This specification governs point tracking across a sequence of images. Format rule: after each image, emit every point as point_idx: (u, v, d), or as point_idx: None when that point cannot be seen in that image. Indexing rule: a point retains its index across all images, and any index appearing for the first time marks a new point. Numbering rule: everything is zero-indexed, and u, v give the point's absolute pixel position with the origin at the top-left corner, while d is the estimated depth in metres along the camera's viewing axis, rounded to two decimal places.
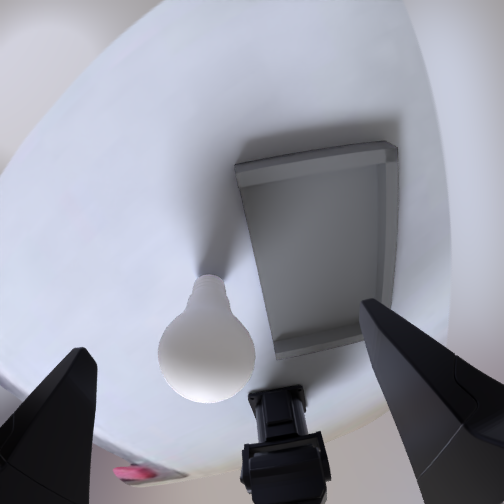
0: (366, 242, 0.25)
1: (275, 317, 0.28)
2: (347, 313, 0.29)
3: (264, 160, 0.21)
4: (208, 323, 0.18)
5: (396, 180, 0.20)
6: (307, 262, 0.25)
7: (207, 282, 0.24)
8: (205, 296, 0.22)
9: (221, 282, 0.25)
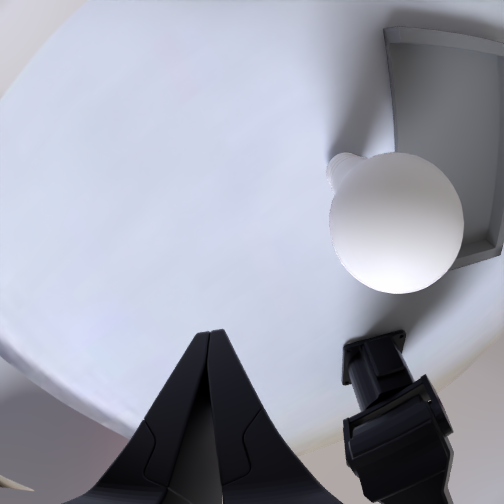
0: (490, 141, 0.18)
1: None
2: (468, 227, 0.22)
3: None
4: (419, 158, 0.11)
5: None
6: (444, 153, 0.19)
7: (353, 156, 0.17)
8: None
9: None
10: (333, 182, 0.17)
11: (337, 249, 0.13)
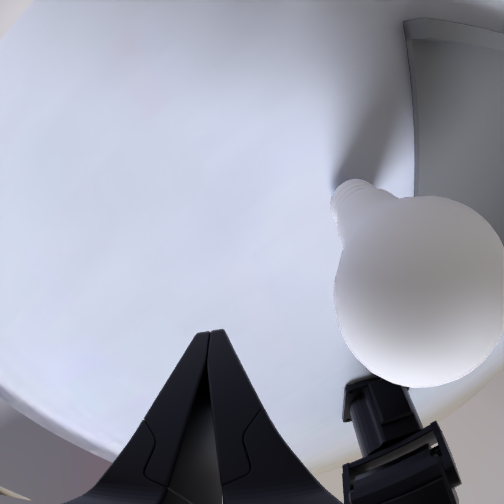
0: None
1: None
2: None
3: None
4: (464, 207, 0.08)
5: None
6: (471, 176, 0.15)
7: (365, 186, 0.14)
8: (388, 196, 0.12)
9: None
10: (339, 223, 0.13)
11: (343, 334, 0.09)
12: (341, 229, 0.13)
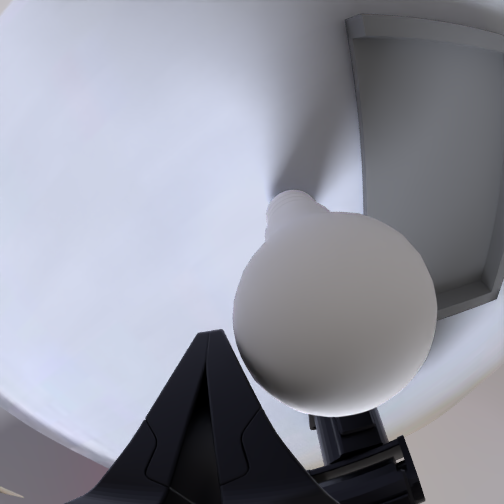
0: (492, 164, 0.15)
1: None
2: (458, 269, 0.19)
3: None
4: (371, 225, 0.08)
5: None
6: (430, 182, 0.15)
7: (298, 197, 0.14)
8: (312, 209, 0.12)
9: (316, 202, 0.15)
10: (265, 237, 0.13)
11: None
12: None
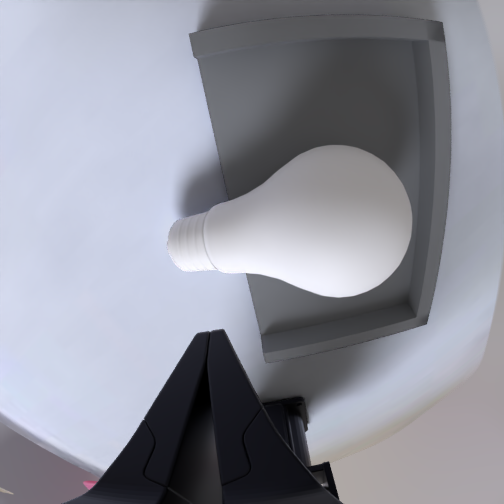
0: (403, 174, 0.15)
1: (264, 296, 0.18)
2: (372, 292, 0.19)
3: None
4: None
5: (445, 70, 0.11)
6: None
7: (196, 215, 0.14)
8: (238, 197, 0.13)
9: None
10: (218, 249, 0.13)
11: (353, 274, 0.10)
12: (226, 251, 0.13)
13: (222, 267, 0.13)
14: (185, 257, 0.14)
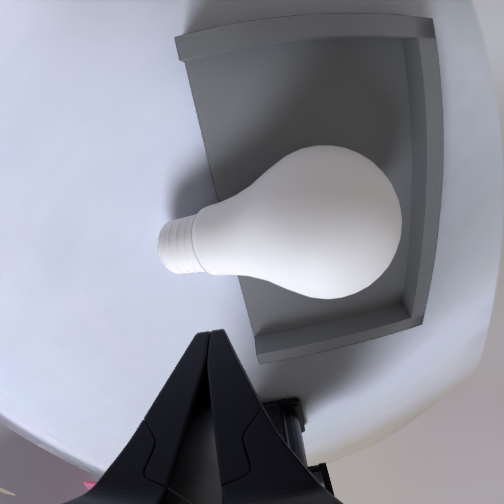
0: (395, 174, 0.15)
1: (256, 297, 0.18)
2: (366, 293, 0.19)
3: None
4: None
5: (436, 67, 0.11)
6: None
7: (186, 217, 0.14)
8: (226, 199, 0.13)
9: None
10: (206, 251, 0.13)
11: (339, 275, 0.10)
12: (214, 253, 0.13)
13: (211, 269, 0.13)
14: (175, 259, 0.14)
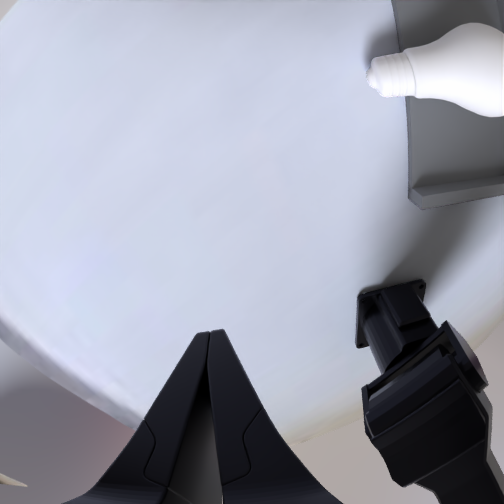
0: None
1: (420, 143, 0.19)
2: (485, 157, 0.19)
3: None
4: None
5: None
6: None
7: (392, 54, 0.15)
8: (423, 45, 0.14)
9: None
10: (424, 67, 0.13)
11: None
12: (430, 69, 0.13)
13: (424, 83, 0.14)
14: (393, 76, 0.14)
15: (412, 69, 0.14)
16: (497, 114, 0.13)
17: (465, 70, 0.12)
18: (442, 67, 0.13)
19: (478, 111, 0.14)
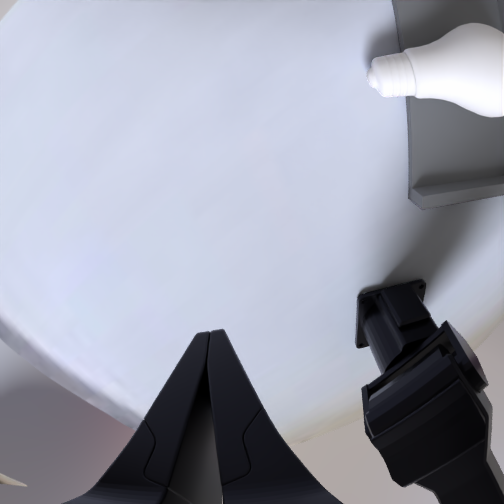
0: None
1: (420, 143, 0.19)
2: (485, 157, 0.19)
3: None
4: None
5: None
6: None
7: (392, 54, 0.15)
8: (423, 45, 0.14)
9: None
10: (424, 67, 0.13)
11: None
12: (431, 69, 0.13)
13: (424, 83, 0.14)
14: (394, 76, 0.14)
15: (412, 69, 0.14)
16: (497, 114, 0.13)
17: (465, 70, 0.12)
18: (442, 67, 0.13)
19: (478, 111, 0.14)
